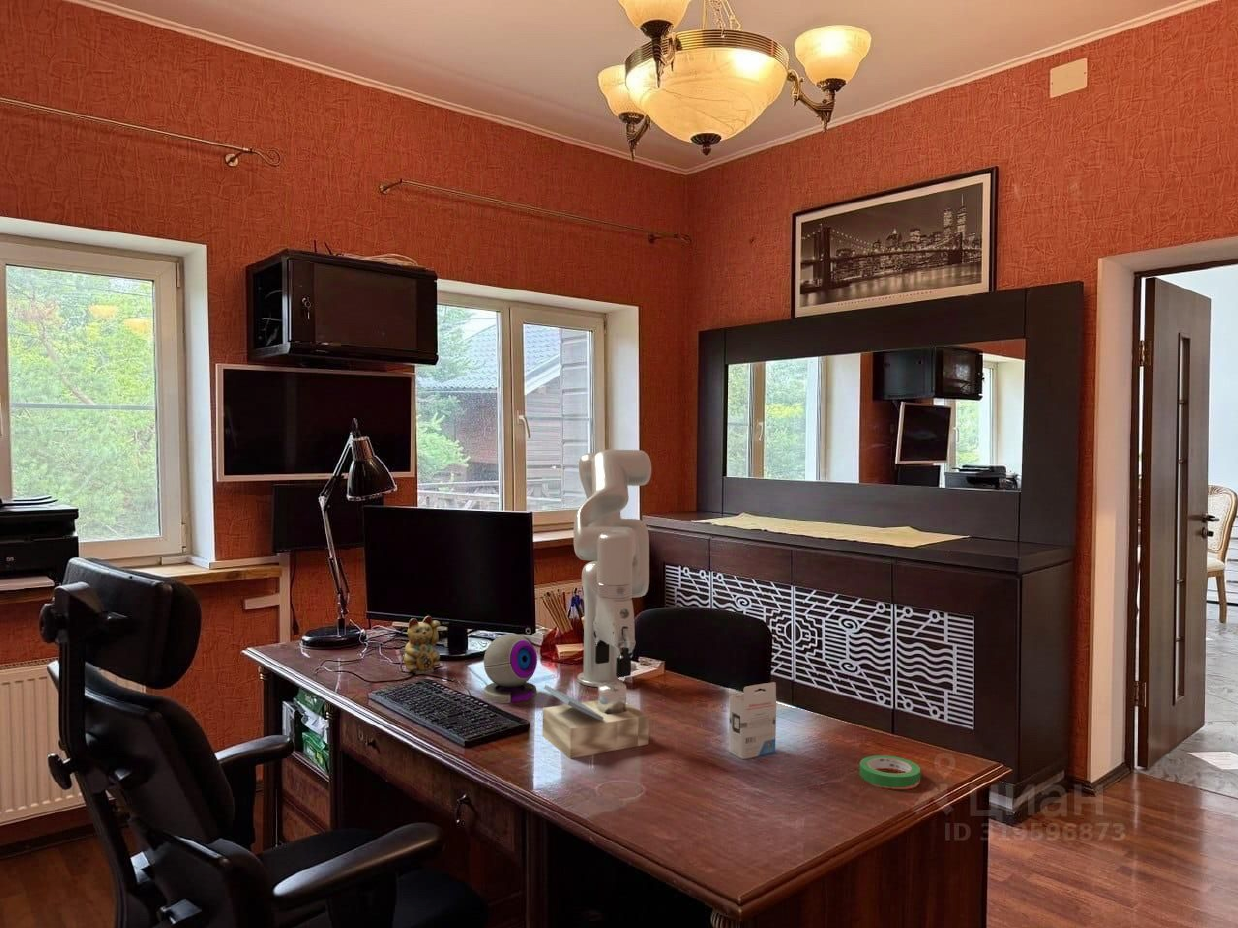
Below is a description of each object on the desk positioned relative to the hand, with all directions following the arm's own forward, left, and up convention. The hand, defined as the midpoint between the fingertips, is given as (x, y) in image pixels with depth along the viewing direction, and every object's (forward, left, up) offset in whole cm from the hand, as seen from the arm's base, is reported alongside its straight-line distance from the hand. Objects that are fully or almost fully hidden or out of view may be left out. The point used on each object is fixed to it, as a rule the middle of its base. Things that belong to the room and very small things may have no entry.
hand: (612, 669), depth 182 cm
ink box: (-22, +21, -15) cm, 33 cm away
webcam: (+9, -36, -15) cm, 40 cm away
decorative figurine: (+23, -66, -15) cm, 72 cm away
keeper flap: (+10, +1, -6) cm, 11 cm away
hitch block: (+4, +1, -14) cm, 15 cm away
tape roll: (-38, +43, -15) cm, 59 cm away
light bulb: (0, +1, -14) cm, 14 cm away
